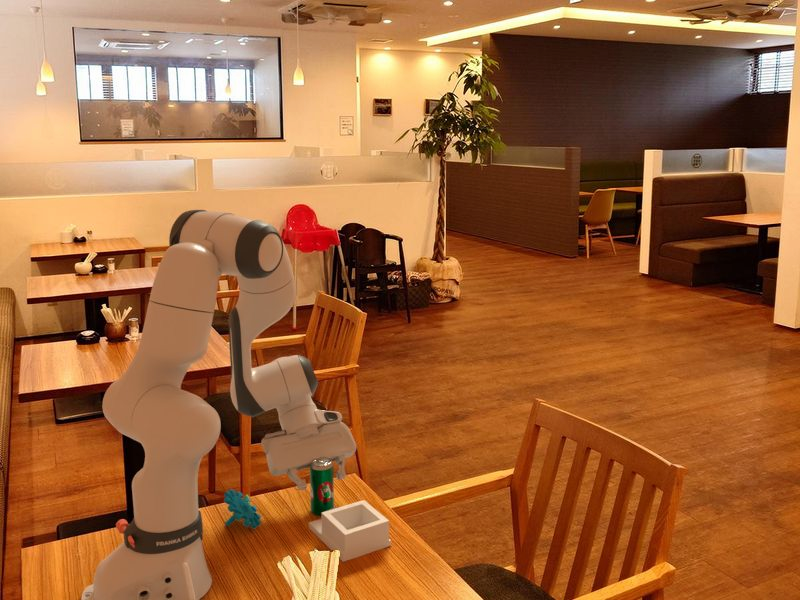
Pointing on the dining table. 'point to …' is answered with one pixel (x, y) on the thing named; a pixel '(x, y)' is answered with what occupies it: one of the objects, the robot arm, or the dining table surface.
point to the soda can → (321, 485)
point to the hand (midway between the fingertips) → (323, 483)
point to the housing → (353, 530)
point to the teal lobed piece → (241, 509)
